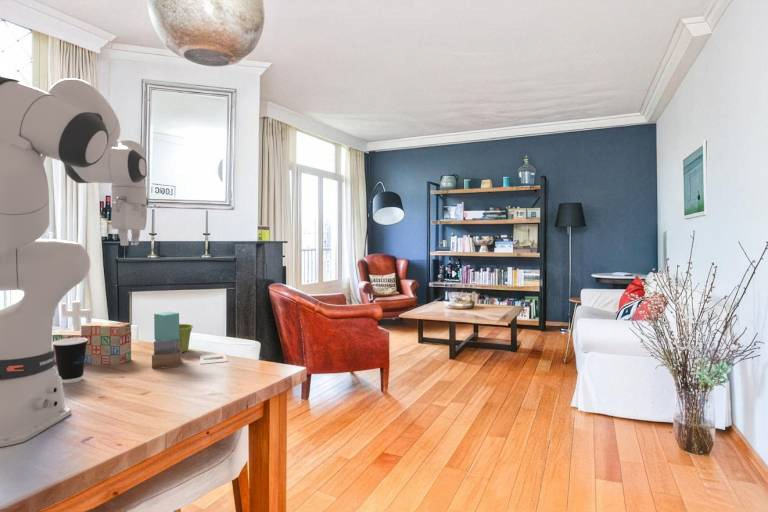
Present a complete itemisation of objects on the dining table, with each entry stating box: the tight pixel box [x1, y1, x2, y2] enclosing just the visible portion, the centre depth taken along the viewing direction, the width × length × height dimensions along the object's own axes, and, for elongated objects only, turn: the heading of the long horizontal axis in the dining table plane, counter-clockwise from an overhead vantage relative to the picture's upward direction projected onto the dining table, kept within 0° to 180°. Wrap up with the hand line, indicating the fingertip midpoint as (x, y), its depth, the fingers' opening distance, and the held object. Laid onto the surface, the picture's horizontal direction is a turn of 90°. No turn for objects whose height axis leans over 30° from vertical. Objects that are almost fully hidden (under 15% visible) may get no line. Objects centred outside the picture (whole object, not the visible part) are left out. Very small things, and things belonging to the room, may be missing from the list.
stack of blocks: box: [52, 321, 132, 366], centre depth 142 cm, size 21×6×12 cm, turn 89°
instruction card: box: [199, 353, 228, 365], centre depth 147 cm, size 10×8×1 cm
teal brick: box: [153, 311, 180, 342], centre depth 139 cm, size 5×5×8 cm
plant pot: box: [179, 323, 194, 353], centre depth 156 cm, size 9×9×9 cm
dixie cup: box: [52, 338, 88, 384], centre depth 124 cm, size 8×8×11 cm
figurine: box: [61, 299, 92, 331], centre depth 171 cm, size 7×9×15 cm
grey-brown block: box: [151, 339, 183, 369], centre depth 139 cm, size 7×7×8 cm
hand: (129, 245), depth 132 cm, fingers open, 8 cm apart
